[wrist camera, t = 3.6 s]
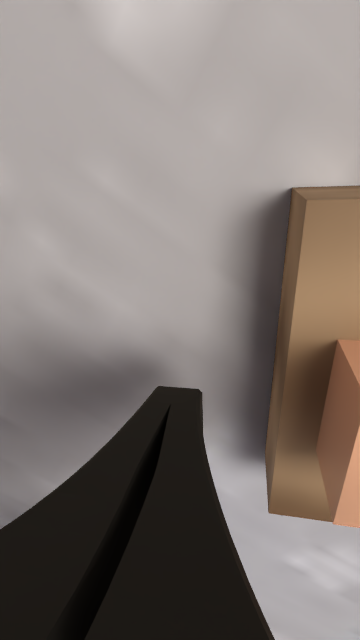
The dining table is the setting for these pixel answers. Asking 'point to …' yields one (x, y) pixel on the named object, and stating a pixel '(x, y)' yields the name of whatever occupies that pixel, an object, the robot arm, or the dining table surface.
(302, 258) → the wooden square board
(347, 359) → the salmon cube
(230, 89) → the dining table surface
